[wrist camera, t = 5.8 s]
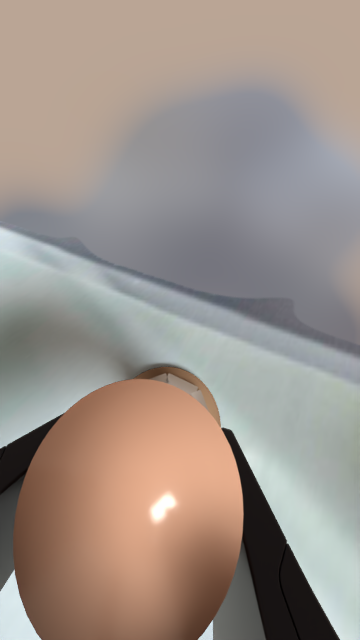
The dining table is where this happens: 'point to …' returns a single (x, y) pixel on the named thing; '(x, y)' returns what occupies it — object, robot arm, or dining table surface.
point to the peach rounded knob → (129, 518)
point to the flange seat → (184, 386)
